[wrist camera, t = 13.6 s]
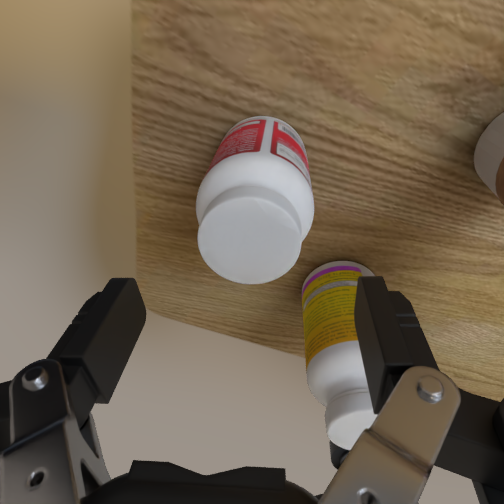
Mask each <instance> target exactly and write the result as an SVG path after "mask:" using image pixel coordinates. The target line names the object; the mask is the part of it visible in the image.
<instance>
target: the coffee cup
mask: <svg viewBox="0 0 504 504" xmlns="http://www.w3.org/2000/svg"><path fill="white" fill-rule="evenodd" d="M474 165H475V170H476V172H477V174H478V176H479V177H480V178H481V179H482V181H483V182H484V183H485V184H486V185H487V186H488V187H489V189H490V190H491V191H492V192H493V193H494V194H495V195H496V196H497V197H498V198H499V200H500V202H501V203H502V204H503V205H504V112H503V113H501V114H500V115H499V116H498V117H496V118H495V119H494V120H493V121H492V122H491V123H490V124H489V125H488V126H487V128H486V129H485V131H484V132H483V133H482V135H481V137H480V139H479V141H478V143H477V145H476V149H475V152H474Z"/></svg>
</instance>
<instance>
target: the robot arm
mask: <svg viewBox="0 0 504 504" xmlns="http://www.w3.org/2000/svg"><path fill="white" fill-rule="evenodd" d="M145 321H146V308H145V305H144V302H143V299H142V297H141V294H140V291H139V288H138V285H137V282H136V280H135V279H134V278H112V279H110V280H109V282H108V283H107V285H106V286H105V288H104V290H103V291H102V292H97V293H96V294H95V295H93V296H92V297H91V298H90V299H88V300H87V301H86V302H85V304H84V305H83V307H82V308H81V309H80V311H79V312H78V315H76V317H75V318H74V319H73V321H72V324H70V325H69V327H68V328H67V330H66V331H65V332H64V334H63V335H62V337H61V338H60V340H59V341H58V342H57V344H56V345H55V347H54V348H53V350H52V351H51V352H50V354H49V355H48V357H47V358H46V359H42V360H38V361H36V362H33V363H31V364H30V365H28V366H26V367H25V368H24V369H22V370H21V371H20V372H19V373H18V374H17V375H16V376H15V377H14V379H13V380H11V381H7V382H4V383H0V504H418V501H419V499H420V496H421V494H422V492H423V490H424V487H425V485H426V482H427V480H428V478H429V475H430V473H431V470H432V468H433V465H435V466H438V467H441V468H443V469H445V470H448V471H451V472H453V473H456V474H459V475H461V476H464V477H467V478H469V479H472V482H473V485H474V488H475V491H476V494H477V497H478V500H479V503H480V504H504V398H503V400H502V401H501V402H498V401H495V400H491V399H488V398H485V397H481V396H478V395H474V394H471V393H469V392H466V391H464V390H462V389H460V388H458V387H457V386H456V384H455V383H454V382H453V380H452V379H450V378H449V377H448V376H447V375H446V374H444V373H443V372H441V371H440V370H439V368H438V366H437V364H436V361H435V359H434V357H433V354H432V352H431V350H430V347H429V345H428V343H427V340H426V338H425V335H424V333H423V331H422V328H420V324H419V321H418V319H417V317H416V314H415V312H414V310H413V307H412V305H411V302H410V301H409V300H408V299H407V298H406V297H405V296H404V295H403V294H402V293H400V292H399V291H388V290H387V287H386V284H385V281H384V279H383V277H382V276H359V278H358V282H357V290H356V299H355V307H354V322H355V328H356V333H357V338H358V342H359V347H360V351H361V356H362V361H363V365H364V370H365V375H366V379H367V384H368V389H369V393H370V398H371V402H372V407H373V412H374V414H377V417H376V419H375V420H374V422H373V424H372V425H371V426H370V428H369V429H368V428H366V429H365V430H364V431H363V432H362V433H361V434H360V436H359V437H358V439H357V441H356V442H355V444H354V445H353V447H352V449H351V450H348V451H346V452H345V453H343V454H342V456H341V458H340V468H339V469H338V471H337V473H336V474H335V476H334V478H333V479H332V481H331V482H330V484H329V485H328V487H327V489H326V490H325V492H324V494H320V495H316V496H313V495H312V494H311V493H309V492H308V491H307V490H305V489H304V488H302V487H300V486H298V485H296V484H294V483H292V482H289V481H287V480H286V475H285V469H284V468H266V467H247V466H246V467H242V468H238V469H233V470H229V471H225V472H220V473H216V474H212V475H201V474H199V473H196V472H193V471H191V470H188V469H185V468H183V467H180V466H178V465H175V464H172V463H169V462H157V461H156V462H155V461H138V460H133V462H132V465H131V468H130V471H129V473H126V474H123V475H121V476H118V477H116V478H114V479H112V480H111V478H110V475H109V473H108V471H107V469H106V466H105V463H104V459H103V455H102V451H101V447H100V443H99V439H98V436H97V431H96V427H95V423H94V419H93V416H92V414H91V409H92V408H93V406H94V404H95V403H101V404H108V403H109V401H110V399H111V397H112V394H113V392H114V390H115V388H116V386H117V383H118V381H119V379H120V377H121V375H122V372H123V370H124V368H125V366H126V364H127V362H128V359H129V357H130V355H131V353H132V351H133V348H134V346H135V344H136V342H137V340H138V338H139V335H140V333H141V331H142V329H143V326H144V324H145Z"/></svg>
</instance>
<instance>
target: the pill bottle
mask: <svg viewBox="0 0 504 504" xmlns="http://www.w3.org/2000/svg"><path fill="white" fill-rule="evenodd" d="M196 213H197V219H198V222H199V225H200V226H199V229H198V236H197V239H198V247H199V251H200V253H201V256H202V257H203V259H204V261H205V262H206V264H207V265H208V266H209V267H210V268H211V269H212V270H213V271H214V272H215V273H217V274H218V275H220V276H222V277H223V278H225V279H227V280H230V281H233V282H236V283H241V284H262V283H267V282H270V281H273V280H275V279H277V278H279V277H281V276H283V275H284V274H285V273H287V272H288V271H289V270H290V269H291V268H292V267H293V265H294V264H295V263H296V261H297V259H298V257H299V254H300V251H301V243H302V241H303V240H304V239H305V237H306V236H307V234H308V232H309V230H310V228H311V225H312V221H313V216H314V199H313V193H312V187H311V180H310V173H309V167H308V160H307V155H306V150H305V147H304V144H303V142H302V140H301V138H300V136H299V135H298V133H297V132H296V131H295V130H294V129H293V128H292V127H291V126H290V125H288V124H287V123H285V122H284V121H282V120H279V119H277V118H273V117H269V116H256V117H251V118H247V119H244V120H242V121H240V122H239V123H237V124H236V125H234V126H233V127H232V128H231V129H230V130H229V131H228V132H227V134H226V135H225V137H224V138H223V140H222V142H221V143H220V145H219V148H218V150H217V152H216V154H215V156H214V158H213V160H212V162H211V164H210V166H209V168H208V170H207V172H206V174H205V176H204V178H203V180H202V183H201V185H200V188H199V191H198V194H197V200H196Z"/></svg>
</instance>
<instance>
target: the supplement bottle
mask: <svg viewBox="0 0 504 504" xmlns="http://www.w3.org/2000/svg"><path fill="white" fill-rule="evenodd" d="M359 276H375V275H374V274H373V273H372V272H371V271H370V270H369V269H368V268H366V267H365V266H363V265H361V264H358V263H355V262H351V261H334V262H330V263H327V264H324V265H322V266H320V267H318V268H316V269H315V270H313V271H312V272H311V273H310V274H309V276H308V277H307V278H306V280H305V282H304V284H303V287H302V310H303V324H304V339H305V356H306V373H307V382H308V386H309V389H310V391H311V393H312V394H313V396H314V397H315V398H316V399H317V400H318V401H319V402H320V403H321V404H322V405H324V406H326V412H325V422H326V429H327V435H328V437H329V439H330V440H331V441H332V442H333V443H334V444H336V445H337V446H339V447H342V448H344V449H347V450H351V449H352V447H353V445H354V444H355V442H356V441H357V439H358V437H359V436H360V434H361V433H362V432H363V431H364V430H365V429H366V428H368V429H369V428H370V426H371V425H372V424H373V422H374V420H375V419H376V417H377V414H374V412H373V407H372V402H371V398H370V393H369V389H368V384H367V379H366V375H365V370H364V365H363V361H362V356H361V351H360V347H359V342H358V338H357V333H356V328H355V322H354V307H355V299H356V290H357V282H358V278H359Z"/></svg>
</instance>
